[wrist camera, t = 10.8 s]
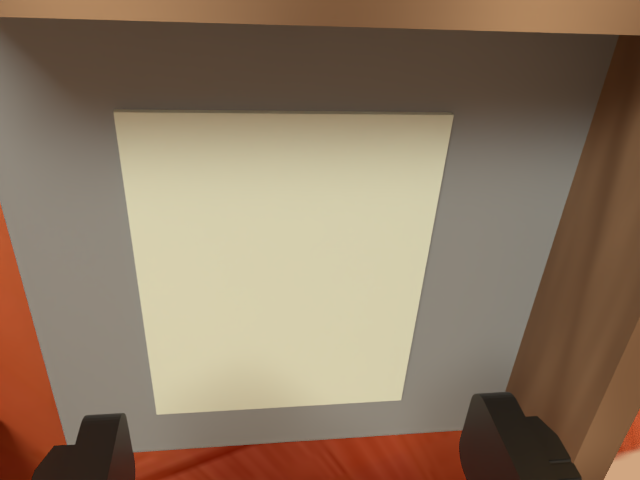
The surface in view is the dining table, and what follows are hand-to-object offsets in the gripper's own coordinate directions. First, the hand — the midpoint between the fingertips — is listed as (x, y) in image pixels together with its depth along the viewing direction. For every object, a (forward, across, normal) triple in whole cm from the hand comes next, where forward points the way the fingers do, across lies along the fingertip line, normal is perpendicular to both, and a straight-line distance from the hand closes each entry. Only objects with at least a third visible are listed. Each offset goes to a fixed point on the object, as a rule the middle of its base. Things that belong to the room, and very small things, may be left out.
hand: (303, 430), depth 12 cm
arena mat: (+6, -1, -1) cm, 6 cm away
